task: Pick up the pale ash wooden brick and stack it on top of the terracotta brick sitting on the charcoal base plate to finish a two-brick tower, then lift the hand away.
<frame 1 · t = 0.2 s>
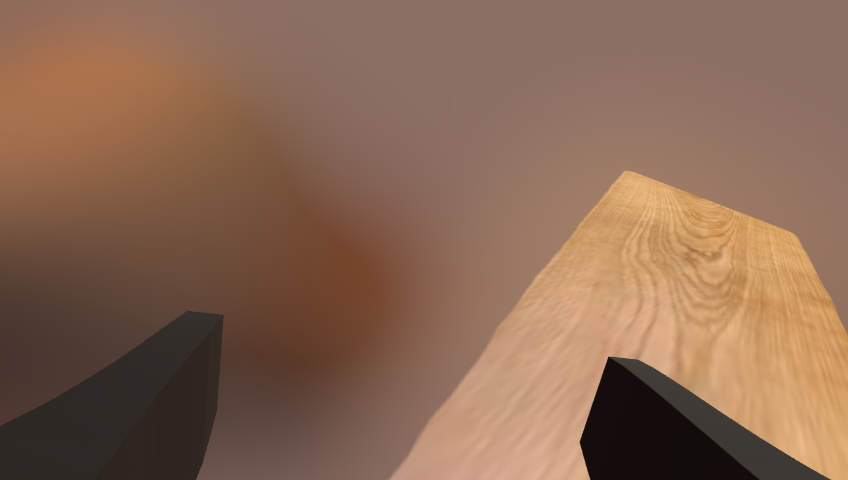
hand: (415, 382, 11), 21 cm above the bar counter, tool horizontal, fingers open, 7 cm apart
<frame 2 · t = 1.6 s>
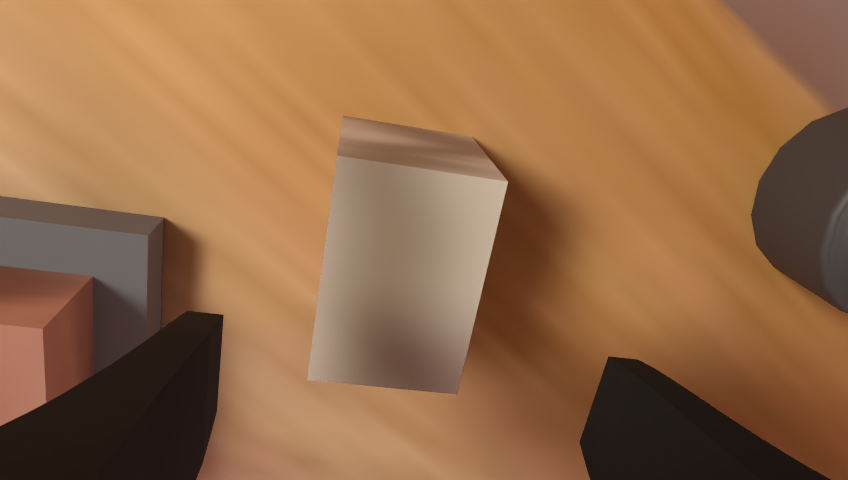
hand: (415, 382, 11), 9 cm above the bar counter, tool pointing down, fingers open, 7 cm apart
ash brick: (392, 217, 19), on the bar counter
candle holder: (834, 195, 21), on the bar counter
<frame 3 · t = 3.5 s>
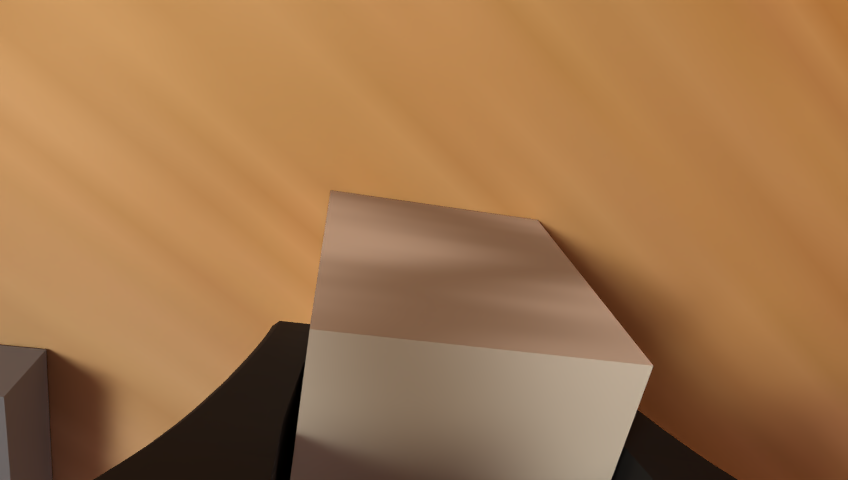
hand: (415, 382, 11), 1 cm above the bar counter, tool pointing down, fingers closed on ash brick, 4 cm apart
ash brick: (409, 342, 12), on the bar counter, touching gripper
when the fingers open (7 cm above the bar counter, at t = 8.0 s): ash brick stays where it is, resting on terracotta brick.
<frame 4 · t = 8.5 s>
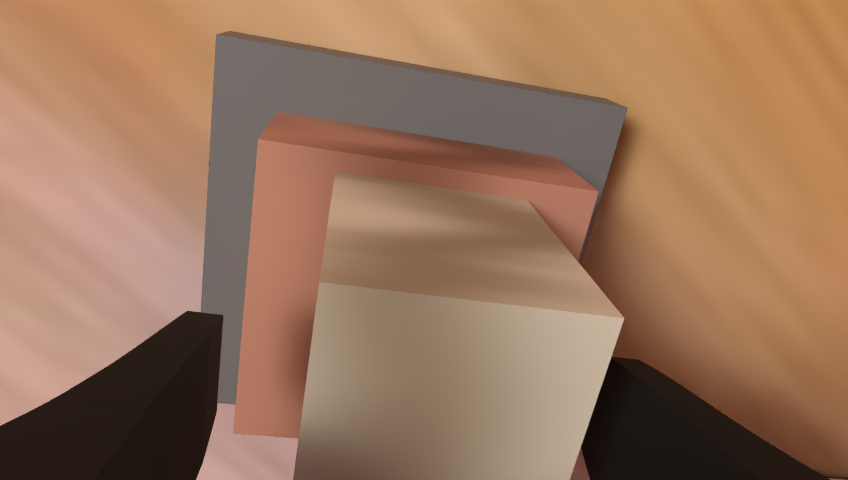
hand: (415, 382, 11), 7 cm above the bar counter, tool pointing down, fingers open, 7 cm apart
terracotta brick: (398, 263, 16), point 1 cm above the bar counter, touching ash brick, base plate
ash brick: (408, 315, 13), point 4 cm above the bar counter, touching terracotta brick
base plate: (395, 242, 17), on the bar counter
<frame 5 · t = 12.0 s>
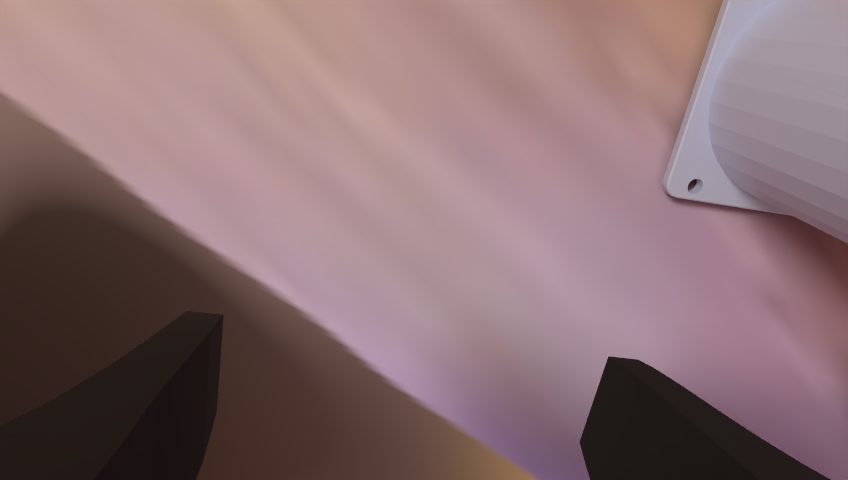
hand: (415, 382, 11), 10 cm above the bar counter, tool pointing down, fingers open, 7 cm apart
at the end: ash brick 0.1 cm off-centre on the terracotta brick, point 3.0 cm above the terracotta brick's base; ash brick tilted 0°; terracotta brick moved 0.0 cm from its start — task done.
